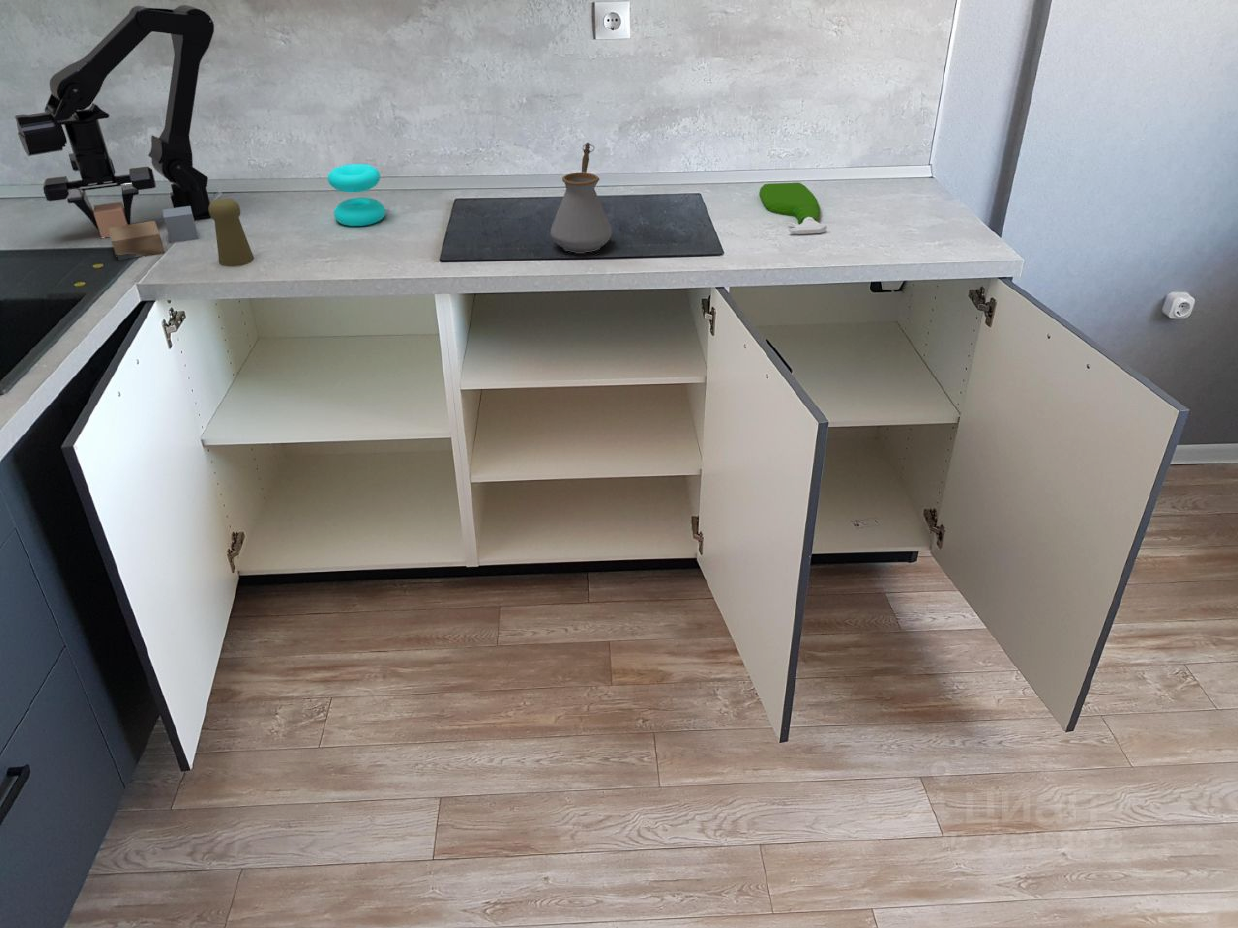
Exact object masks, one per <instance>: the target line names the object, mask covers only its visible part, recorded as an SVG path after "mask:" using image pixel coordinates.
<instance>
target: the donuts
mask: <svg viewBox="0 0 1238 928" xmlns="http://www.w3.org/2000/svg"><path fill="white" fill-rule="evenodd" d="M380 180H381V174H380V171H379V170H378V169H377V168H376V167H375V166H372V165H369V164H362V163H352V164H345V165H341V166H338V167H335V168H333V169H332V170H330V171H329V173H328V175H327V181H328V184H329V185H330V186H331V188H333V189H334V190H337V191H339V192H343V193H362V192H365V191H366V192H367V191H370V190H371V189H374V188H375V187H376V186H378V184H379V182H380ZM333 213H334V214H333V215H334V218H335V220H336V221H337V222H338V223H340V224H341V225H344V226H349V227H364V226H365V227H366V226H370V225H374V224H376V223H379V222H380V221H382V220H383V219H384V218H385V215H386V208H385V206H384V204H382V203H381V201H379V200H377V199H376V198H375V199H374V198H370V197H353V198H350V199H346V200H343V201H342V202H339V203H338V205H337V206H336V207H335V208H334V211H333Z"/></svg>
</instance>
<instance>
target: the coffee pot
mask: <svg viewBox="0 0 1238 928" xmlns="http://www.w3.org/2000/svg"><path fill="white" fill-rule="evenodd" d="M590 146H592V147H593V149H592V150H590V149H591V148H590ZM582 150H583V153H584V154H583V157H582V161H581V163H582V164H581V172H571V173H567V174H565V175H563V176H562V179H561V181H562V182H563V183H564V186H565V191H564V194H563V197H562V199H561V202H560V205H559V207H558V210H557V213H556V215H555V218H554V221H553V223H552V225H551V229H550V236H551V238H552V241H554V243H556V244H557V245H558V246H559V247H560V248H561V247H563V248H565V249H566V250H569V251H575V252H585V251H591V250H595V249H597V248H599V247H601V246H602V247H603V246H605V245H606V244H607V243H608V242H609V240H610V239H611V237H612V235H613V227H612V226H611V224H610V221H609V220H608V217H607V215H606V212H605V210H604V208H603V205H602V203H601V201H600V198H599V196H598V193H597V192H596V190H595V187H596V186H597V184H598V183H599V181H600V177H599V176H597V175H596V174H594V173H590V172H587V171H588V168H589V167H588V166H589V161H590V153H592V152H593V151H595V146H594V145H593V144H592V143H591V144H590V142H587V143H585V144H583V146H582Z"/></svg>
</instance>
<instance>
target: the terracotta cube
mask: <svg viewBox="0 0 1238 928" xmlns="http://www.w3.org/2000/svg"><path fill="white" fill-rule="evenodd" d="M93 211H94V216H95V219H96V222H97V225H98V228H99V230H98V231H99V234H100V238H101V239H102V237H110V231H109V228H111V227H117V226H124V225H128V224H127V221H126V217H125V211H124V205H123V201H117V202H110V203H108V202H107V203H102V204H95V205H93Z"/></svg>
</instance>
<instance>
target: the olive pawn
mask: <svg viewBox="0 0 1238 928" xmlns="http://www.w3.org/2000/svg"><path fill="white" fill-rule="evenodd" d="M208 210H209V214H210V216H211V217H210V218H211V219H212V220H213V221H214V227H215V236H216V237H215V238H216V244H217V245H216V246H217V256H218V262H219V264H220V265H221V266H224V267H239V266H244V265H247V264H249V263H251V262H252V261H254V259H255V258H254V255H253V252H252V249H251V247H250V244H249V241H248V239H247V237H246V233H245V230H244V227H243V225H242V223H241V220H240V215H241V208H240V205H239V204H238V202H237V201H236V200H235V199H231V198H218V199H214V200H213V201H210V204H209V207H208Z"/></svg>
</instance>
